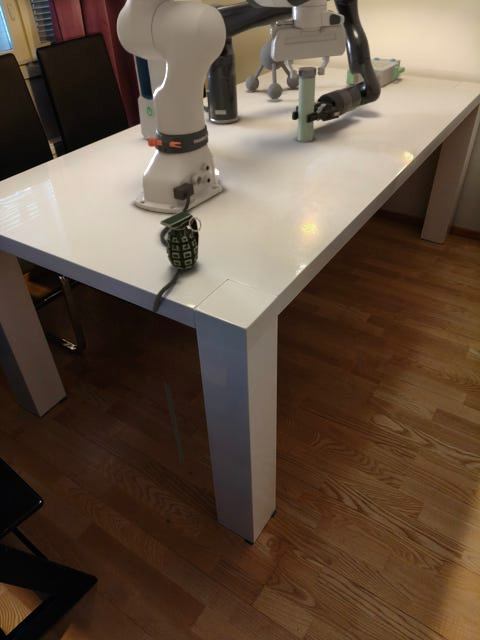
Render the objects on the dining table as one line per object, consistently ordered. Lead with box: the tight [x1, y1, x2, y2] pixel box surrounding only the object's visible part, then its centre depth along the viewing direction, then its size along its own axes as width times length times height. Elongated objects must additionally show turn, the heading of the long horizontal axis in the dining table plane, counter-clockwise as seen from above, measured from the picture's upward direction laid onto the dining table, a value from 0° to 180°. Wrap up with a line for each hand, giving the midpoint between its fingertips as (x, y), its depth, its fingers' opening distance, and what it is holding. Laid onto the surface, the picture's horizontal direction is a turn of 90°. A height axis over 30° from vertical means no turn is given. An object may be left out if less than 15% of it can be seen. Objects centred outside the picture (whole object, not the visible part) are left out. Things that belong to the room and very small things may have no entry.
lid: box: [297, 66, 317, 77], centre depth 135 cm, size 5×5×2 cm
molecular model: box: [245, 24, 300, 100], centre depth 182 cm, size 24×22×30 cm
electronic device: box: [133, 55, 166, 140], centre depth 143 cm, size 12×8×30 cm, turn 47°
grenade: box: [159, 211, 202, 271], centre depth 88 cm, size 7×6×10 cm
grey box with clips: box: [346, 57, 406, 88], centre depth 197 cm, size 26×6×20 cm
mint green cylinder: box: [297, 76, 316, 143], centre depth 140 cm, size 4×4×18 cm
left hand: (307, 76), depth 135 cm, fingers open, 7 cm apart
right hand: (300, 117), depth 140 cm, fingers closed on mint green cylinder, 4 cm apart
